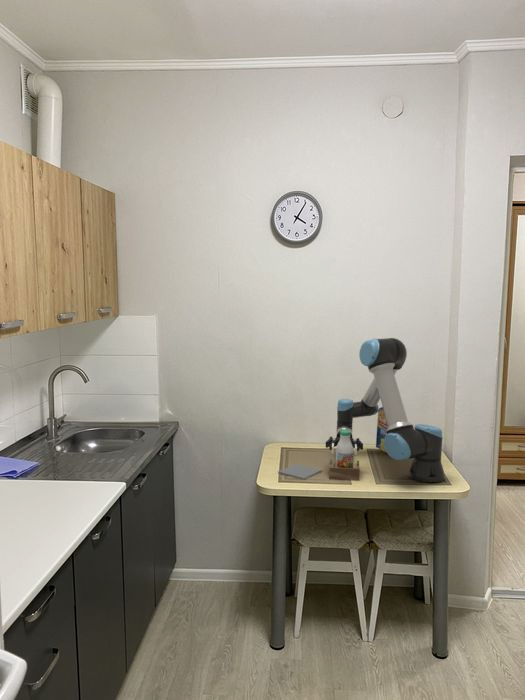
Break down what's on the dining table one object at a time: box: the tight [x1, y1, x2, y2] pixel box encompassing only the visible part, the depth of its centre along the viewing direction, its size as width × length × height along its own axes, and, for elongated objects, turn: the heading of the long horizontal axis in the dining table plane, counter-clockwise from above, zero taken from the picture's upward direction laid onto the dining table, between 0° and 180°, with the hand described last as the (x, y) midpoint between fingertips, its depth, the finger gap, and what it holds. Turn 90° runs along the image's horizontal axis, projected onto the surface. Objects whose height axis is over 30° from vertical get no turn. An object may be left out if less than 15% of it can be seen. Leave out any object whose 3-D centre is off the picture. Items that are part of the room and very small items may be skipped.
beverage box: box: [375, 406, 388, 453], centre depth 288 cm, size 7×11×22 cm, turn 39°
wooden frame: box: [328, 458, 360, 481], centre depth 257 cm, size 12×13×5 cm
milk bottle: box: [335, 430, 354, 468], centre depth 257 cm, size 8×8×20 cm
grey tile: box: [277, 463, 322, 481], centre depth 261 cm, size 14×14×1 cm
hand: (344, 450), depth 252 cm, fingers open, 9 cm apart
